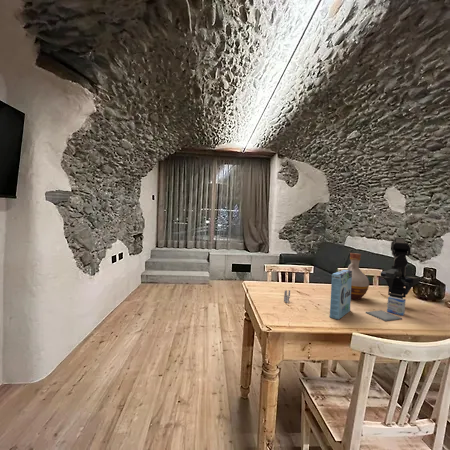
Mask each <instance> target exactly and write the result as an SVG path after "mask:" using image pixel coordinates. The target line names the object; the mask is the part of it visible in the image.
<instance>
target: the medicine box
mask: <svg viewBox="0 0 450 450" xmlns="http://www.w3.org/2000/svg"><path fill="white" fill-rule="evenodd" d="M406 300H407V299H405V298H403V299H402V298H397V297H392V296H390V295H388V297H387V303H388V304H387V306H386V312H387V313H390V314H392V315H396V316H404V315H405V312H406Z"/></svg>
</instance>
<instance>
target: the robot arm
mask: <svg viewBox="0 0 450 450" xmlns="http://www.w3.org/2000/svg"><path fill="white" fill-rule="evenodd" d="M390 243H391V244H390V251H391V255H392V256H393V265H392V266H391V269H387V270H383V271H381V272H380V277H382V278H383V279H384V280H385V282H386V284H387V288H388V293H387V294H388V296H392V297H397V298H402V299H405V298H406V297H407V295H408V294H409V292H410V291H411V289H412V288H413V287H414V286H415V285H417V284H420V279H419V278H418V277H415V276H408V274H406V270H408V263H409V262H408V259H407V256H408V257H409V256H410V255H411V253H412V252H411V251H412V250H411V245H410V244H409V243H408V242H406V241H405V238H402V237H395V238H394V240H393V241H392V242H390ZM403 281H405V282H403ZM386 304H387V305H388V302H387V303H386Z"/></svg>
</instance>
